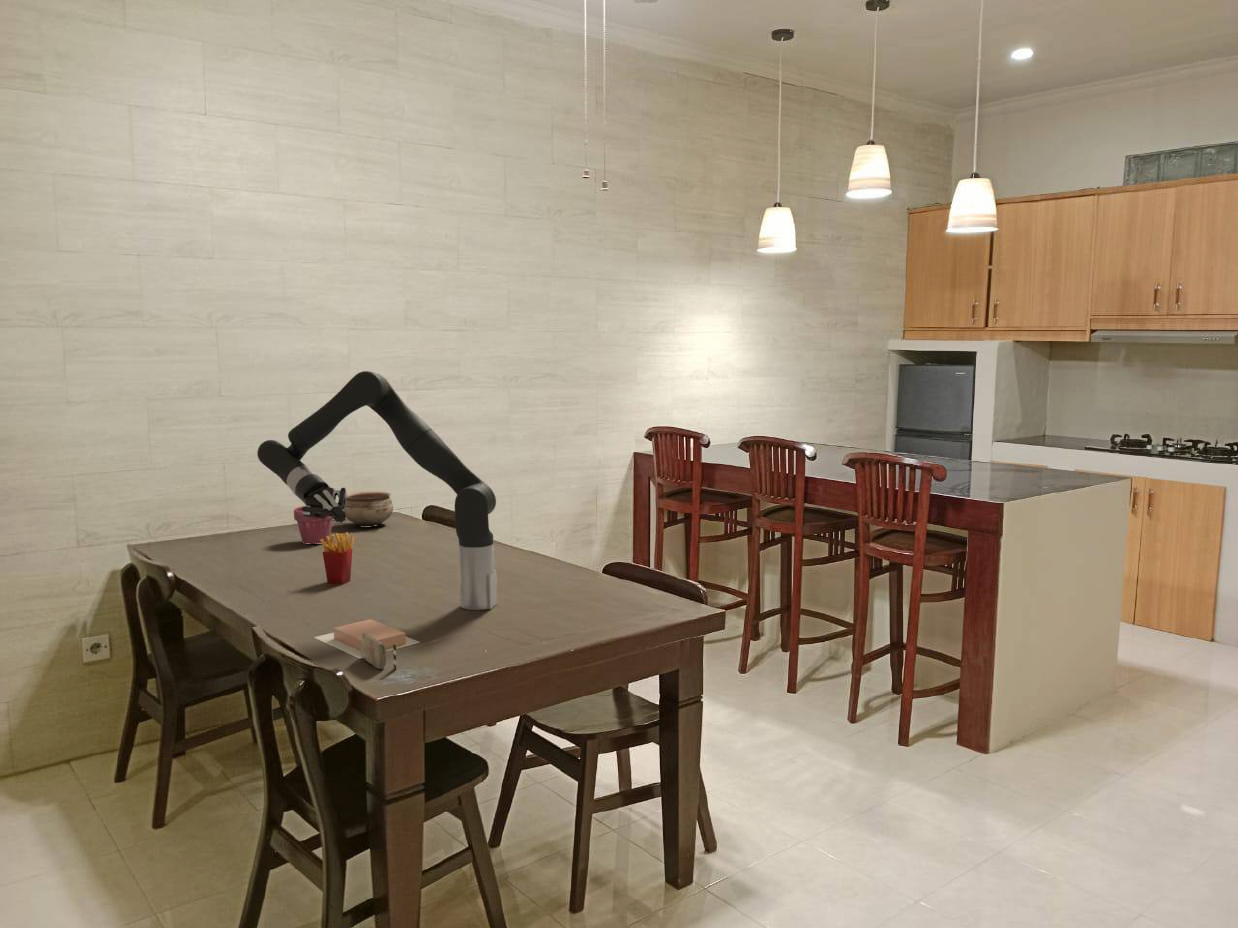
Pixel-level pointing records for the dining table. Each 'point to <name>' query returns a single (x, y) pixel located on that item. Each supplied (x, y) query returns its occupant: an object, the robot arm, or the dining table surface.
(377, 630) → the tile
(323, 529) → the plant pot
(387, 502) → the cooking pot
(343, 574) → the french fries
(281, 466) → the robot arm
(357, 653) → the mat
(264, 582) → the dining table surface
